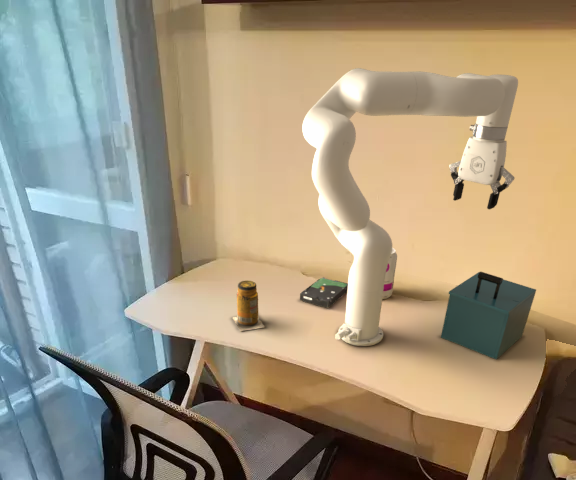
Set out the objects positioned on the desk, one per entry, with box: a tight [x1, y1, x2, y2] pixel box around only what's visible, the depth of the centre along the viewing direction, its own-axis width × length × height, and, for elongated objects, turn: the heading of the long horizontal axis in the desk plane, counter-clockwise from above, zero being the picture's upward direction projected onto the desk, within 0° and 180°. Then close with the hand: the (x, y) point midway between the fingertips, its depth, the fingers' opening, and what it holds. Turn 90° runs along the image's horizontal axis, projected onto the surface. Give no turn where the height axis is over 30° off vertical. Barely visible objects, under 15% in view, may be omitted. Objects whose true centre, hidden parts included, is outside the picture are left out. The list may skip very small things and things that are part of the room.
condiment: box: [232, 280, 265, 331], centre depth 155 cm, size 7×8×12 cm
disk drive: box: [299, 276, 348, 309], centre depth 172 cm, size 10×3×15 cm
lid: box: [448, 271, 537, 314], centre depth 143 cm, size 17×17×7 cm
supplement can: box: [382, 247, 398, 300], centre depth 170 cm, size 8×8×15 cm
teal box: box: [440, 291, 537, 360], centre depth 149 cm, size 17×17×14 cm
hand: (473, 203), depth 142 cm, fingers open, 9 cm apart
